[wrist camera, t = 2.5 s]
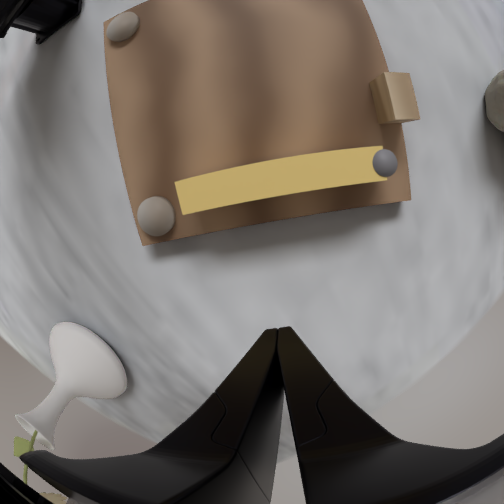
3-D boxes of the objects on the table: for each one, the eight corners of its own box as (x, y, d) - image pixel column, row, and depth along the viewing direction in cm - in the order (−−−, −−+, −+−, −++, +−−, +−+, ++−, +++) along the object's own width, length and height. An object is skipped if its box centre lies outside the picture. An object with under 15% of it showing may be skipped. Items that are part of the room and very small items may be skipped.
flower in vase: (83, 381, 29) (4, 507, 6) (45, 313, 26) (-71, 439, 2) (158, 392, 28) (86, 568, 4) (120, 313, 24) (-23, 517, 1)
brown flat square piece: (151, 239, 21) (125, 259, 17) (112, 28, 15) (85, 11, 10) (401, 196, 18) (430, 207, 14) (341, -24, 12) (352, -52, 8)
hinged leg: (379, 145, 15) (394, 144, 13) (383, 175, 16) (399, 178, 13) (187, 178, 17) (174, 181, 15) (194, 207, 18) (182, 215, 15)
